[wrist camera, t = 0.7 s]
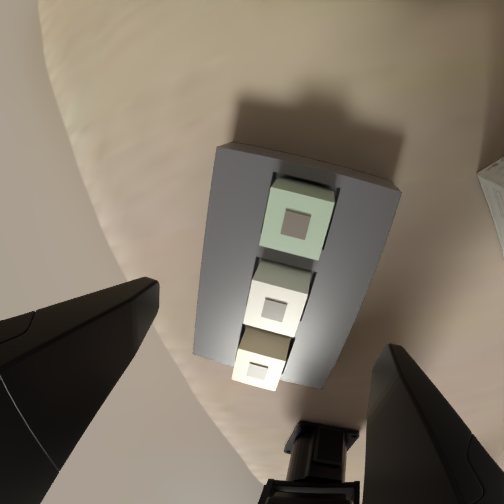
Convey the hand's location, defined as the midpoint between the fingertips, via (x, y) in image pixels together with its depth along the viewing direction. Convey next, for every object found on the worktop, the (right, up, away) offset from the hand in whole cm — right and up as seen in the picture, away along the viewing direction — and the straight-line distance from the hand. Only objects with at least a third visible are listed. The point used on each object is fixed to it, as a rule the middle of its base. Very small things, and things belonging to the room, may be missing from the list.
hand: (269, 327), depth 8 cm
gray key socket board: (+2, +1, +14) cm, 14 cm away
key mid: (+1, 0, +12) cm, 12 cm away
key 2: (+1, -5, +14) cm, 15 cm away
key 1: (+2, +4, +9) cm, 11 cm away
